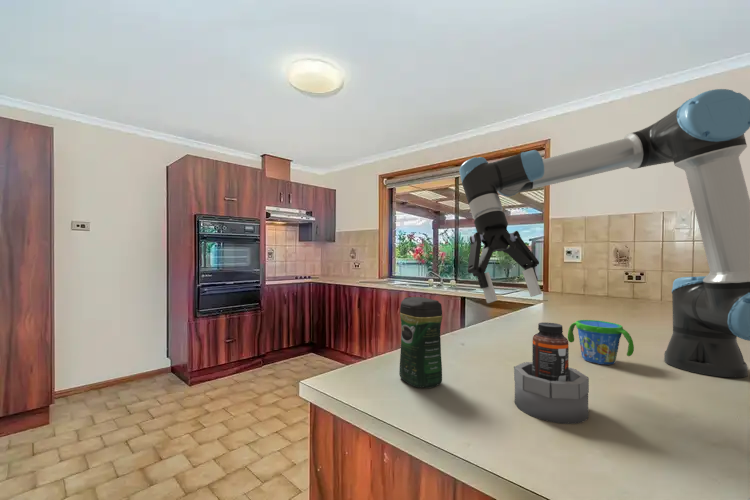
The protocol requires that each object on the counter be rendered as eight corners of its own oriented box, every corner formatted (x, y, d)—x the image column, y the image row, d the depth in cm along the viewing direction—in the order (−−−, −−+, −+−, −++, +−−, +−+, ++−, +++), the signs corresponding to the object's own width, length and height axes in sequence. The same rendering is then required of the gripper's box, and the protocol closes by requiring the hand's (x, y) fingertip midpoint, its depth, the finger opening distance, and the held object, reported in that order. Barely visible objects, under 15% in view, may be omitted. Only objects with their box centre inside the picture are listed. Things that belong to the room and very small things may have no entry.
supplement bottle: (573, 393, 58) (574, 328, 59) (537, 390, 60) (537, 326, 60) (561, 380, 64) (562, 321, 64) (528, 378, 65) (529, 320, 66)
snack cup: (643, 367, 85) (643, 327, 85) (616, 373, 81) (616, 330, 81) (583, 351, 99) (583, 317, 99) (558, 355, 95) (558, 319, 95)
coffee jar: (448, 385, 72) (449, 299, 72) (418, 392, 68) (418, 301, 68) (422, 371, 80) (422, 294, 81) (393, 376, 77) (394, 295, 77)
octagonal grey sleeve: (566, 395, 67) (566, 362, 67) (603, 425, 55) (603, 385, 55) (505, 393, 68) (506, 361, 68) (529, 422, 56) (529, 383, 56)
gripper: (514, 221, 92) (540, 296, 86) (439, 223, 82) (461, 308, 76) (535, 208, 86) (565, 288, 79) (456, 209, 76) (482, 300, 69)
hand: (515, 298), depth 77 cm, fingers open, 13 cm apart
